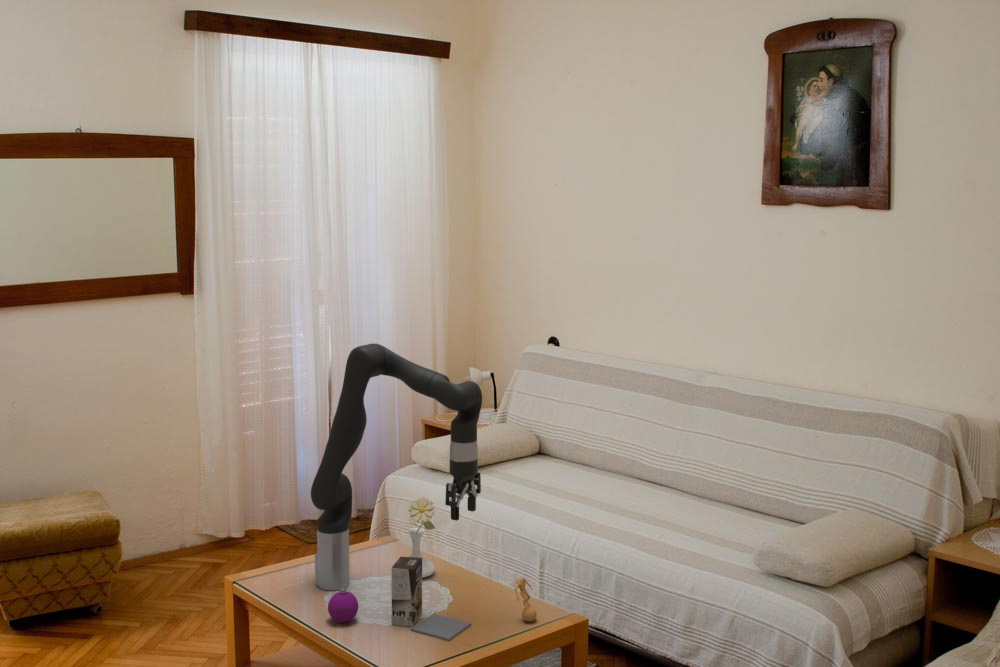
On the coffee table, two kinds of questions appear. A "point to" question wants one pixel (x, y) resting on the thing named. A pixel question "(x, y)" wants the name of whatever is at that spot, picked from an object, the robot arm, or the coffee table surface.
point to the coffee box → (406, 591)
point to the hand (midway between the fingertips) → (463, 515)
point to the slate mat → (441, 627)
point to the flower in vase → (420, 513)
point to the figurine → (529, 611)
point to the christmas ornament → (343, 606)
